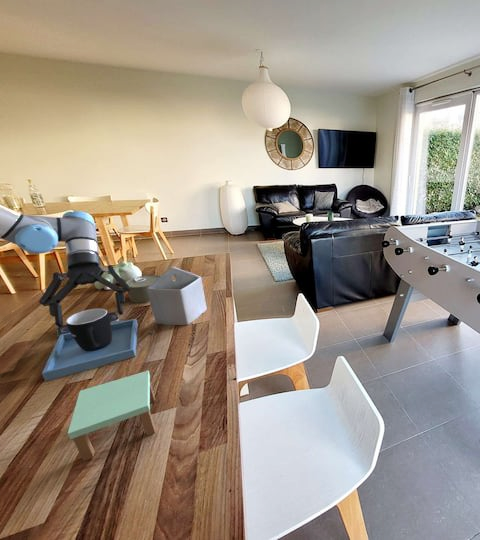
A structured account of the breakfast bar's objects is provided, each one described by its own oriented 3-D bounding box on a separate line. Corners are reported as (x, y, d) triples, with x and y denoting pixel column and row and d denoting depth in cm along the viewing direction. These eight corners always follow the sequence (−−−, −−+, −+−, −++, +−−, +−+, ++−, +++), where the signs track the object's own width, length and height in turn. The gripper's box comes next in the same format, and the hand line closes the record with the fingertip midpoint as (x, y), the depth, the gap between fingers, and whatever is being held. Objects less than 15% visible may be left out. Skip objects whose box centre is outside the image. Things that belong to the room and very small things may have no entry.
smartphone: (119, 319, 99) (58, 336, 88) (119, 321, 99) (59, 339, 89) (115, 311, 104) (56, 326, 93) (115, 313, 104) (57, 329, 93)
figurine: (145, 282, 128) (139, 262, 124) (96, 293, 117) (89, 270, 114) (141, 276, 135) (135, 255, 131) (95, 285, 124) (87, 263, 120)
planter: (159, 333, 94) (145, 279, 87) (155, 323, 99) (142, 271, 92) (212, 317, 104) (204, 268, 97) (206, 309, 109) (197, 261, 102)
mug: (78, 343, 87) (66, 314, 83) (116, 333, 92) (107, 305, 89) (76, 364, 78) (63, 333, 75) (117, 352, 84) (107, 322, 80)
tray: (45, 381, 73) (41, 373, 72) (63, 341, 88) (60, 334, 87) (135, 356, 83) (133, 349, 82) (137, 324, 98) (135, 318, 97)
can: (140, 305, 110) (136, 289, 107) (122, 298, 114) (118, 282, 112) (171, 293, 120) (168, 278, 117) (154, 287, 124) (150, 272, 122)
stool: (81, 463, 55) (67, 433, 52) (91, 418, 64) (79, 390, 61) (156, 433, 61) (148, 405, 58) (156, 396, 70) (148, 370, 67)
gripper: (135, 256, 100) (145, 312, 94) (32, 268, 87) (37, 334, 81) (130, 245, 94) (140, 304, 88) (19, 257, 81) (23, 328, 75)
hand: (91, 319), depth 85 cm, fingers open, 13 cm apart
